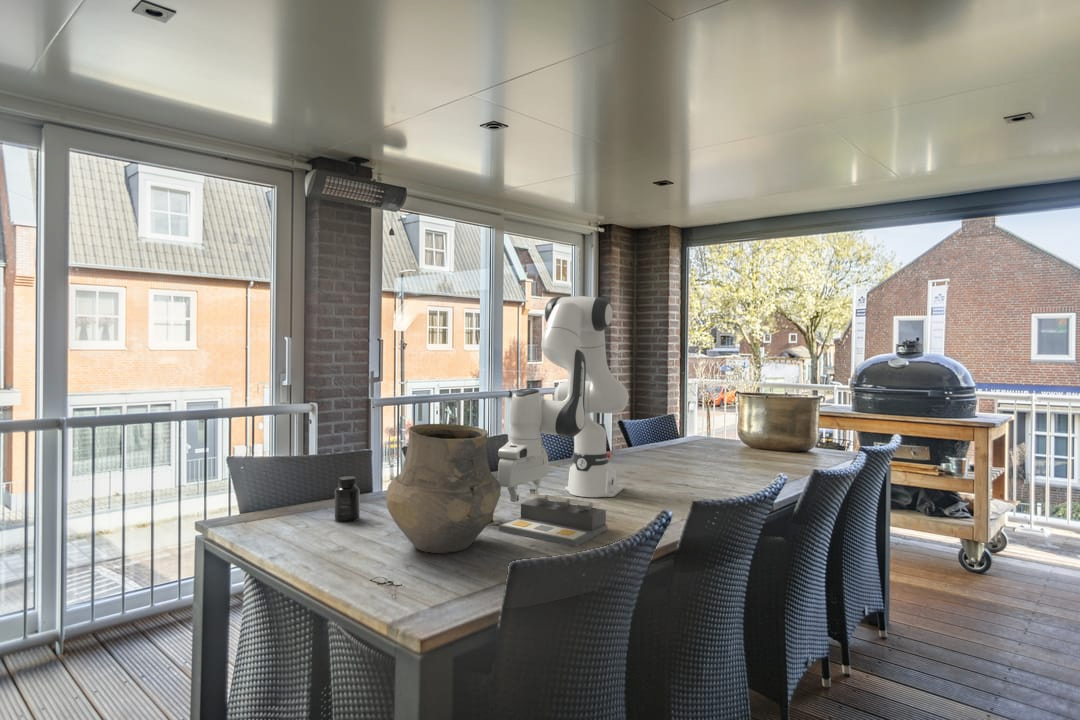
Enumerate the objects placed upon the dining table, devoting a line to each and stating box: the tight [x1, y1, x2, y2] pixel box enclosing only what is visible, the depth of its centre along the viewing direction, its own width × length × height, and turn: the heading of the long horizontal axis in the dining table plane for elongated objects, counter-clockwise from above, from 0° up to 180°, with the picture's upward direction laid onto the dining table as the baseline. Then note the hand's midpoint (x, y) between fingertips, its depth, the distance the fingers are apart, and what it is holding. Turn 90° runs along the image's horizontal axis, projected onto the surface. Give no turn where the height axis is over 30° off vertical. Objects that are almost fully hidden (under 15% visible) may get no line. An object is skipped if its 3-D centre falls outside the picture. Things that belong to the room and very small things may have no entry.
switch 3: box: [570, 499, 601, 510], centre depth 175 cm, size 11×4×2 cm, turn 148°
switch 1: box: [526, 492, 558, 503], centre depth 182 cm, size 11×4×2 cm, turn 148°
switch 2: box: [548, 495, 579, 507], centre depth 179 cm, size 11×4×2 cm, turn 148°
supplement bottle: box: [334, 475, 361, 523], centre depth 182 cm, size 7×7×12 cm
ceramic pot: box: [385, 423, 502, 554], centre depth 159 cm, size 28×28×30 cm
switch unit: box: [498, 498, 608, 548], centre depth 175 cm, size 18×24×6 cm
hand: (524, 498), depth 175 cm, fingers open, 8 cm apart
